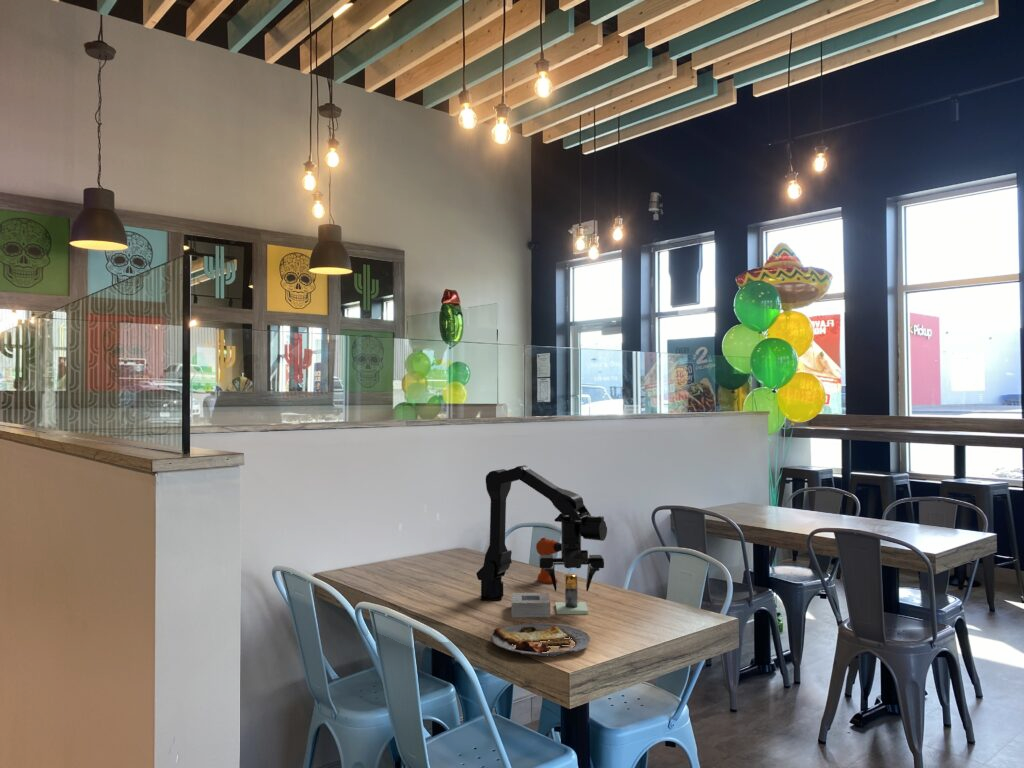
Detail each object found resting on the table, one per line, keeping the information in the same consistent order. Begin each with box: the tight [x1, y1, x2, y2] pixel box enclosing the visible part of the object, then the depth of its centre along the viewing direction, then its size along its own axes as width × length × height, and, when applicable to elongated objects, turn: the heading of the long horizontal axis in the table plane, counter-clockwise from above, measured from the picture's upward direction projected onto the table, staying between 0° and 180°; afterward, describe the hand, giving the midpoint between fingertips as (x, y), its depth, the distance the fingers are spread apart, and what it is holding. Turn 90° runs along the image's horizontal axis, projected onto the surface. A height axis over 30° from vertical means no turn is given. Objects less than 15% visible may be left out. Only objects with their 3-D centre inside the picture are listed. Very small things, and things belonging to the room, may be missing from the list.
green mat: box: [555, 601, 589, 615], centre depth 227 cm, size 9×9×1 cm
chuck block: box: [511, 592, 551, 618], centre depth 225 cm, size 11×11×4 cm
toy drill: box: [535, 537, 562, 585], centre depth 257 cm, size 5×19×15 cm, turn 36°
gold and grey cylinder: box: [564, 573, 579, 608], centre depth 227 cm, size 4×4×9 cm
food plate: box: [490, 621, 591, 657], centre depth 196 cm, size 25×23×4 cm
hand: (571, 590), depth 227 cm, fingers open, 9 cm apart
